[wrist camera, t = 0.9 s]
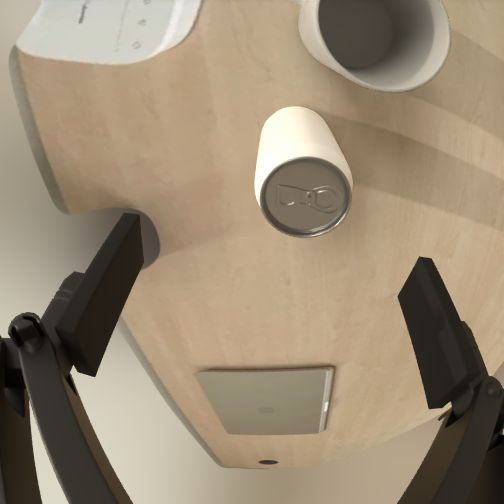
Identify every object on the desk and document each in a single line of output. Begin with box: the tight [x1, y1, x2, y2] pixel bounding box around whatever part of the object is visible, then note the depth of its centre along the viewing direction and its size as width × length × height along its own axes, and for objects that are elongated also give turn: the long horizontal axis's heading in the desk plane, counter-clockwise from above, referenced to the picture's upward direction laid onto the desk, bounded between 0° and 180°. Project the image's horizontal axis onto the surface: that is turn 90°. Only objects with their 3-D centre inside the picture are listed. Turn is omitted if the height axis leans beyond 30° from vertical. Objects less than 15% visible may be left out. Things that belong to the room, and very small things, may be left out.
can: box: [255, 107, 353, 238], centre depth 24 cm, size 6×6×12 cm
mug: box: [289, 0, 451, 93], centre depth 17 cm, size 12×8×11 cm
